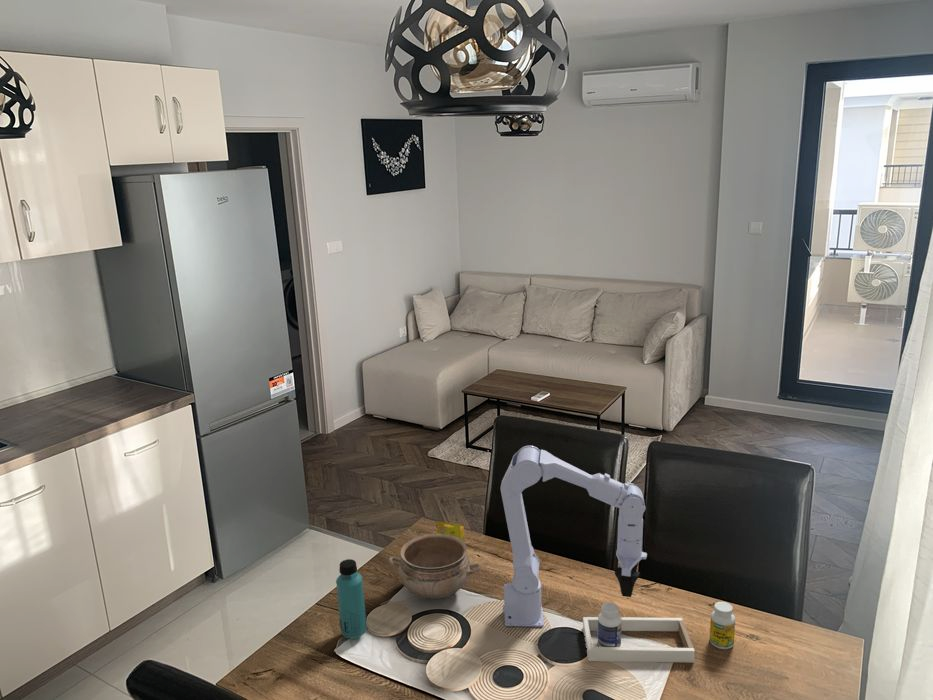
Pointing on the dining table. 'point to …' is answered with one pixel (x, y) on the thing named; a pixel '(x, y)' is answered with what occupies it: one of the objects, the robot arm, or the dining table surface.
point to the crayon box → (451, 529)
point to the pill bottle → (609, 626)
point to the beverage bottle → (351, 600)
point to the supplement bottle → (722, 626)
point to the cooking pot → (434, 565)
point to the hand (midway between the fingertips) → (628, 586)
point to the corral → (641, 652)
